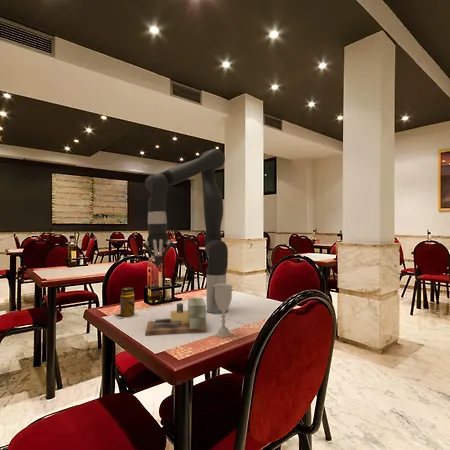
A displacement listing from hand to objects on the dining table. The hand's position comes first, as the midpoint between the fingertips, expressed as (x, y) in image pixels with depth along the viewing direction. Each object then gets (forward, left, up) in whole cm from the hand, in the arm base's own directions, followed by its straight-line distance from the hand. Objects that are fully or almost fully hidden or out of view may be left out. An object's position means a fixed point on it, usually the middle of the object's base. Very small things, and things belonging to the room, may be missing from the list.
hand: (158, 265), depth 126 cm
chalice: (-24, +18, -24) cm, 39 cm away
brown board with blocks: (-7, +8, -24) cm, 26 cm away
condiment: (+15, -14, -24) cm, 31 cm away
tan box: (-10, +8, -22) cm, 26 cm away
